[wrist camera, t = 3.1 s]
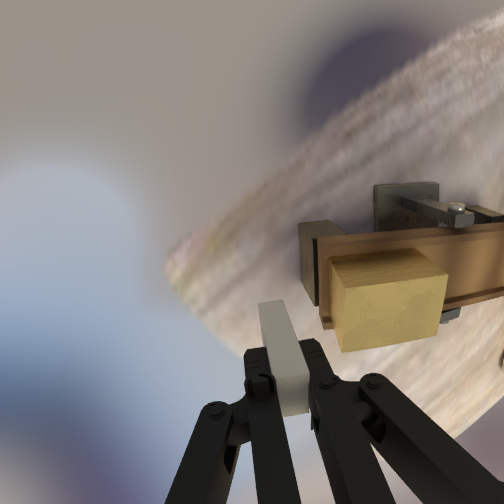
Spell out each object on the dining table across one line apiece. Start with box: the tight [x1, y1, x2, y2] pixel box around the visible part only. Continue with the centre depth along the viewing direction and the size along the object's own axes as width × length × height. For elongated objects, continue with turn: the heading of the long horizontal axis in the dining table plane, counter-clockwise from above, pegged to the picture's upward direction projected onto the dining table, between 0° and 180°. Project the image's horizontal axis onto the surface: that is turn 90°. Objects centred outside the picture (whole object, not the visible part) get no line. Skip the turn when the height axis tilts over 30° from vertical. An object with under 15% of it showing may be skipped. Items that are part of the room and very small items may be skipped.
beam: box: [317, 222, 504, 330], centre depth 20 cm, size 24×7×2 cm, turn 96°
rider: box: [328, 248, 448, 353], centre depth 18 cm, size 7×5×5 cm, turn 96°
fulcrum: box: [298, 183, 504, 324], centre depth 24 cm, size 24×12×9 cm, turn 96°
